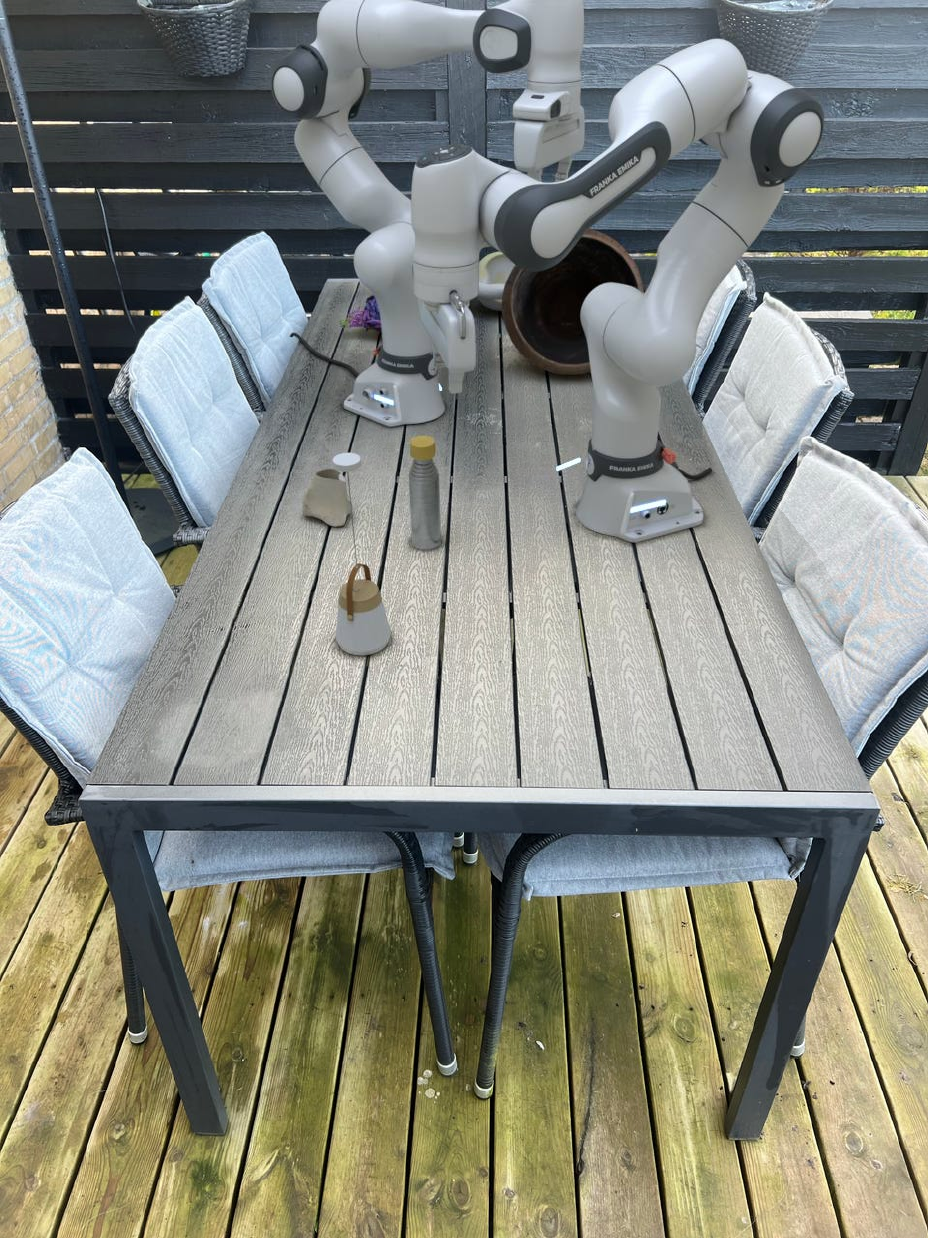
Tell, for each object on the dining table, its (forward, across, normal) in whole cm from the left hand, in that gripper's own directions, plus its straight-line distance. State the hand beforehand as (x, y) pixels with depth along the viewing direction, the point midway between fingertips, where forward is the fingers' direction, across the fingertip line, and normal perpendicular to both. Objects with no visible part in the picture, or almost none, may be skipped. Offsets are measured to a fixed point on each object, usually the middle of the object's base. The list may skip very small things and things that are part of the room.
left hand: (549, 189), depth 161 cm
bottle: (+48, +43, 0) cm, 65 cm away
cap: (+29, +43, 0) cm, 52 cm away
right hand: (+15, +49, +8) cm, 52 cm away
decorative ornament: (+48, -37, -59) cm, 84 cm away
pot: (+48, -44, -14) cm, 67 cm away
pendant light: (+48, +71, +6) cm, 86 cm away
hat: (+48, -65, -44) cm, 92 cm away
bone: (+48, +46, -20) cm, 69 cm away
